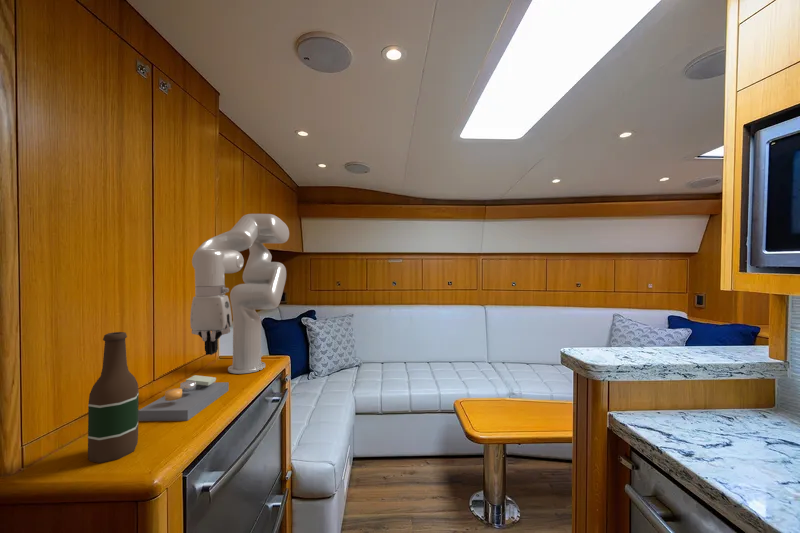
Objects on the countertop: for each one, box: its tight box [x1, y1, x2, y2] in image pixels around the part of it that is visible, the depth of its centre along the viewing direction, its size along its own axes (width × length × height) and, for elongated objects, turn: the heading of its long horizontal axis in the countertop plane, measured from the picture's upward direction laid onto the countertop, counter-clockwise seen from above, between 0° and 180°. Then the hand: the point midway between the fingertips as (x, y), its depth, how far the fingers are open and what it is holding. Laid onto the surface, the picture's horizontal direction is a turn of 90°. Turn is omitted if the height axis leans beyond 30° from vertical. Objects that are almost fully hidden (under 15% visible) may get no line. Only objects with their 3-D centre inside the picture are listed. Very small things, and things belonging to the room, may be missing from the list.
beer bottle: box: [87, 331, 140, 464], centre depth 66 cm, size 8×8×24 cm
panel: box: [138, 381, 230, 422], centre depth 90 cm, size 20×12×4 cm, turn 1°
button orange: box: [164, 387, 182, 401], centre depth 84 cm, size 4×4×2 cm
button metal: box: [179, 380, 196, 392], centre depth 90 cm, size 4×4×2 cm
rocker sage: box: [185, 374, 217, 386], centre depth 96 cm, size 4×6×1 cm, turn 91°
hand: (211, 353), depth 97 cm, fingers closed
